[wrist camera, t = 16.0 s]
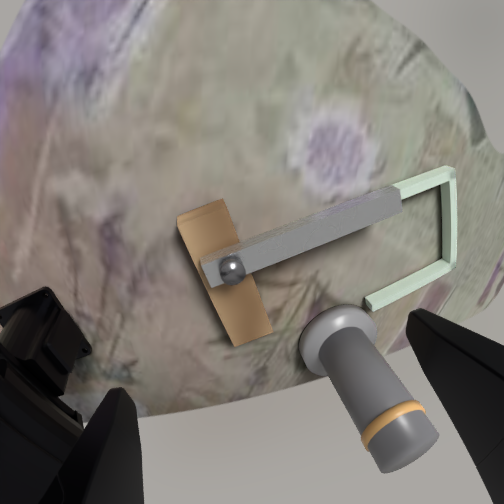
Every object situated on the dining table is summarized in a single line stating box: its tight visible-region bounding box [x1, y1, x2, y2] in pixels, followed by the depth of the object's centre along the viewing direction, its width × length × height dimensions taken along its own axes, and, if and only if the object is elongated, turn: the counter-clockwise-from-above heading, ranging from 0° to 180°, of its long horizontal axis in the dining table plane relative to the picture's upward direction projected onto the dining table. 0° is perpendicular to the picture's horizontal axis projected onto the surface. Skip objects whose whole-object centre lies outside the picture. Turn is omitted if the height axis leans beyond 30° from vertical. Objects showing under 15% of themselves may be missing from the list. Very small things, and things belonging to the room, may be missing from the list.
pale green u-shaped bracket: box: [365, 165, 457, 312], centre depth 24 cm, size 10×10×1 cm
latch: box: [200, 185, 403, 288], centre depth 19 cm, size 13×2×2 cm, turn 108°
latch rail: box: [177, 198, 273, 347], centre depth 21 cm, size 3×10×2 cm, turn 18°
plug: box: [299, 304, 439, 473], centre depth 21 cm, size 7×7×13 cm
